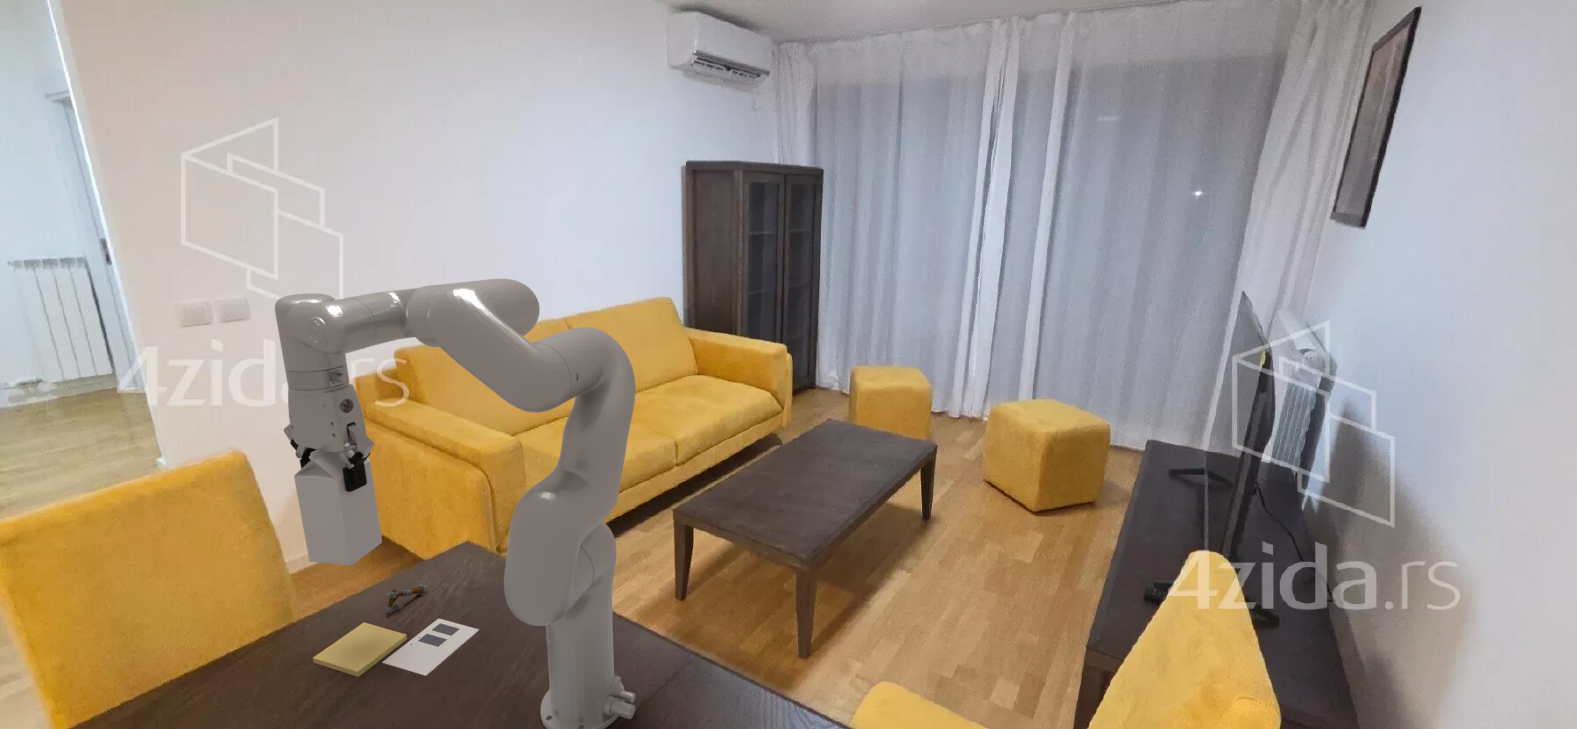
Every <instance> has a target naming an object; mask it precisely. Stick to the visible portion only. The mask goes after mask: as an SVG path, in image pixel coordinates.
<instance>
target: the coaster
mask: <svg viewBox="0 0 1577 729" xmlns="http://www.w3.org/2000/svg"><path fill="white" fill-rule="evenodd" d="M407 640H408V637H407V633H406V634H405V633H401V632H398V631H395V630H393V629H392V630H391V629H388V628H385V627H382V626H378V625H374V624H371V623H367V622H362V623H361V624H359V625H357V627H355V628H354V629H353V630H351V631H349V632H348V633H346V634H345V635H344V636H342V637H340V638H339V639H338V640H336V641H335V642H333V643H332V644H331V645H329V646H327V647H326V648H325V649H323V650H321V652H319V653H317V654H316V655H314V656H313V657H312V661H313V664H316V665H319V666H323V667H326V668H329V669H332V670H335V671H339V672H341V673H345V674H348V675H351V676H355V677H357V678H358V677H361V676H362V675H363V674H365V673H366V672H367V671H368V670H370V669H371V668H372V667H374V665H376V664H377V663H379V662H380V661H381V660H382V659H384V658H385V657H387V656H388V655H389V654H390V653H391V652H394V651H395V649H397V648H398V647H399V646H400V645H402V644H403V643H405V642H406V641H407Z"/></svg>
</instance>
